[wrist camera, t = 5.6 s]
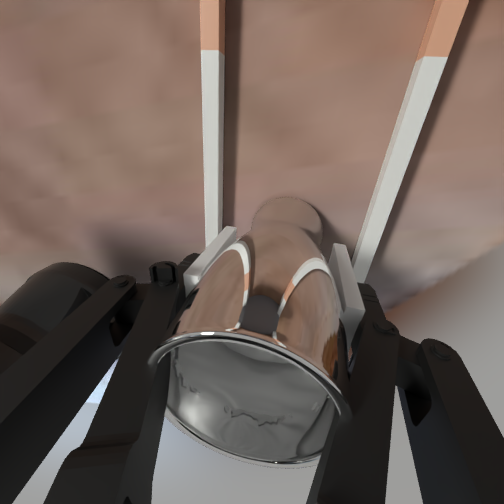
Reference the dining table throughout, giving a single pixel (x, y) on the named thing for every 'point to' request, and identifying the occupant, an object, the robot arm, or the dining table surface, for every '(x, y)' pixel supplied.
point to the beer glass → (262, 345)
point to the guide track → (401, 144)
